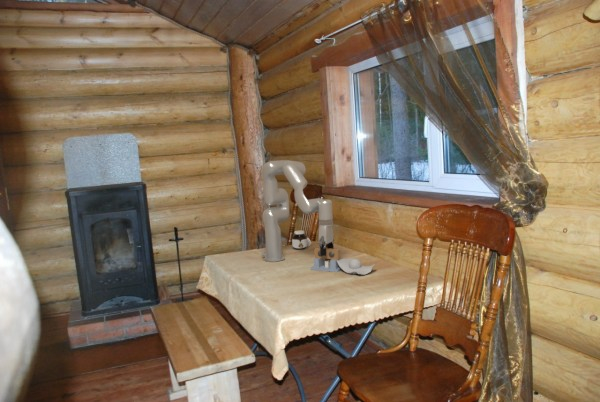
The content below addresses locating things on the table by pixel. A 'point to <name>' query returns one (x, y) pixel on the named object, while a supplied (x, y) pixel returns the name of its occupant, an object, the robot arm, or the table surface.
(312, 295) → the table surface
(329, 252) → the tan wooden plank
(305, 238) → the spread jar
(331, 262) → the display stand
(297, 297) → the table surface
